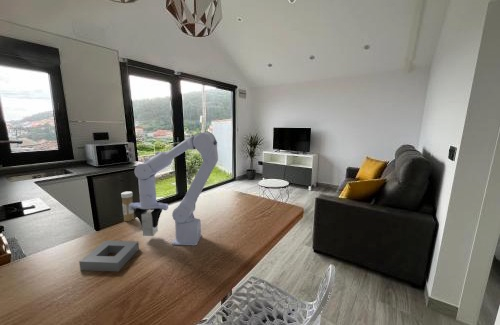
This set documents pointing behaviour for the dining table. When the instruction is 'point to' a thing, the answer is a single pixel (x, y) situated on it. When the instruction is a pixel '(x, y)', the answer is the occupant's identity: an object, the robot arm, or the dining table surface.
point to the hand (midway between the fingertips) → (150, 226)
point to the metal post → (148, 224)
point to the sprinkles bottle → (127, 205)
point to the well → (109, 263)
